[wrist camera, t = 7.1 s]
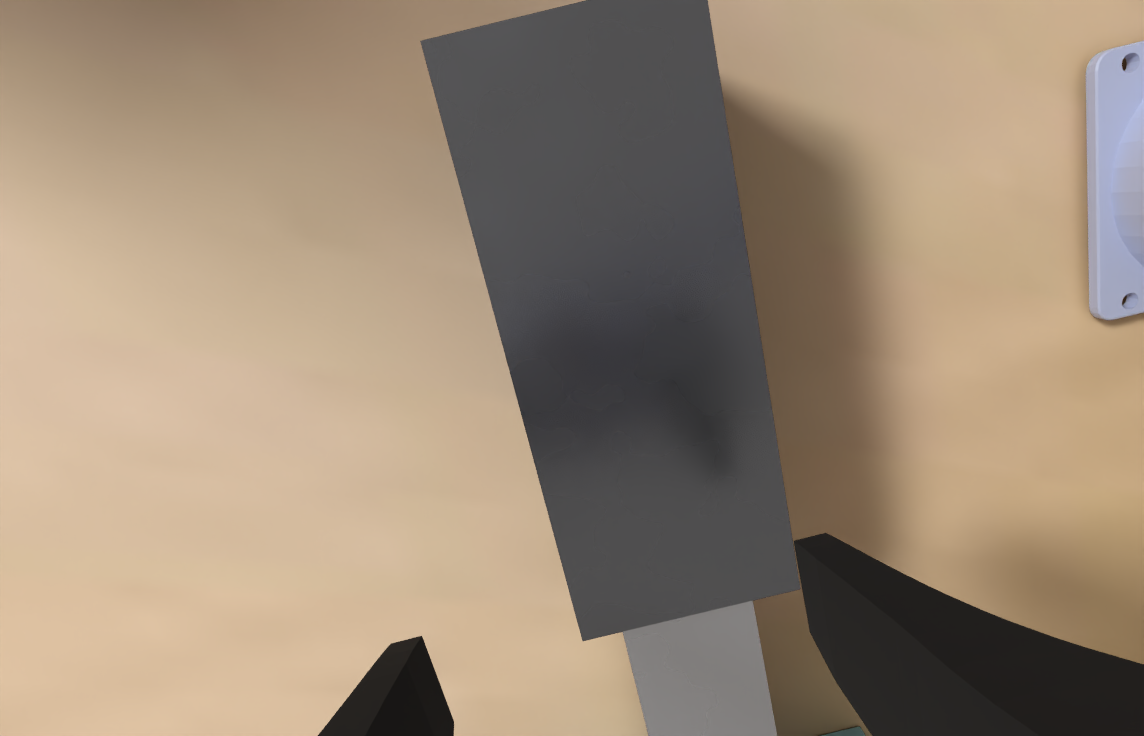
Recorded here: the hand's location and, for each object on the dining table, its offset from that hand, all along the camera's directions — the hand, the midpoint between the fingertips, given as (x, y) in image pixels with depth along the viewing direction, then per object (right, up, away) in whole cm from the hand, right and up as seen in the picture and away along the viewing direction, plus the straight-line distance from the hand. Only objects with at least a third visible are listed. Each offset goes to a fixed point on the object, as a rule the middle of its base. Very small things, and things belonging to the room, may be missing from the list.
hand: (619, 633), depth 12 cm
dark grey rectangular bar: (0, +7, +8) cm, 10 cm away
